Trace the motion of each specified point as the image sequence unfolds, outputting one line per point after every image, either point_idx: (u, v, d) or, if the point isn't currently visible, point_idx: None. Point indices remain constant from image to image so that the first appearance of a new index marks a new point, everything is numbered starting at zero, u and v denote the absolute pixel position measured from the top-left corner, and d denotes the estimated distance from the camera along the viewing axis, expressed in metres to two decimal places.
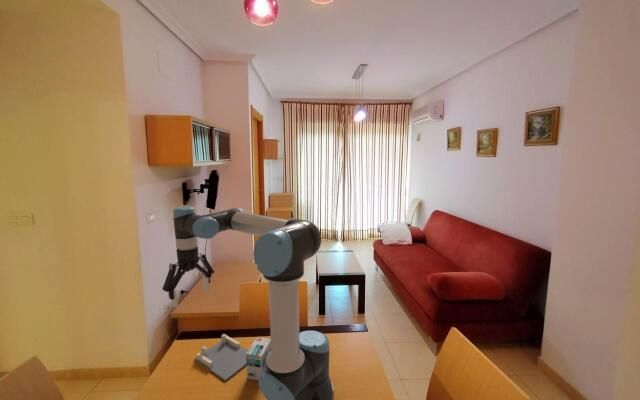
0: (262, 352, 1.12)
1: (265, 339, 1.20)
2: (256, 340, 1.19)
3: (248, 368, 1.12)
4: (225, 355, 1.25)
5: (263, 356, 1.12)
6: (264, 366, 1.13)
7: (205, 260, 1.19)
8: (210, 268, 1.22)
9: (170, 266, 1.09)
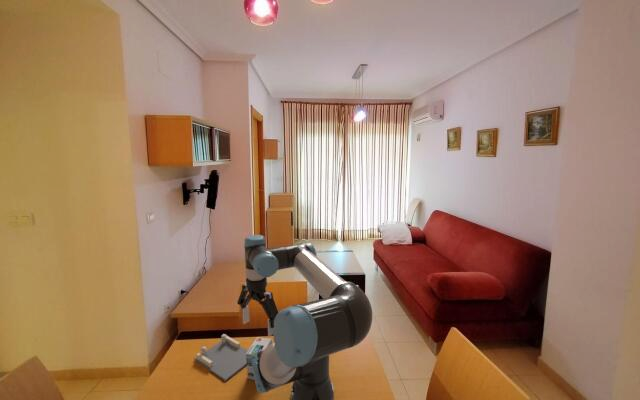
0: None
1: (265, 339, 1.20)
2: (256, 340, 1.19)
3: (248, 368, 1.12)
4: (225, 355, 1.25)
5: None
6: None
7: (267, 301, 1.07)
8: (271, 313, 1.07)
9: None
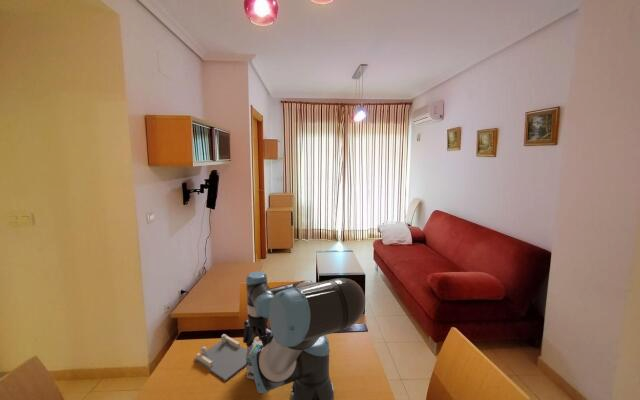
0: None
1: None
2: (256, 340, 1.19)
3: (248, 368, 1.12)
4: (225, 355, 1.25)
5: None
6: None
7: (267, 338, 1.10)
8: None
9: None
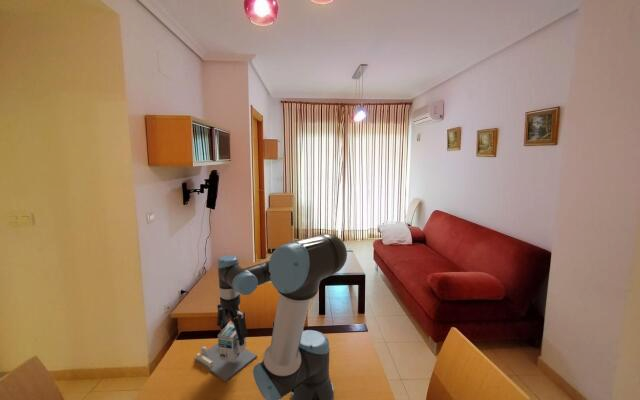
0: (234, 334, 1.15)
1: None
2: (230, 323, 1.22)
3: (220, 349, 1.15)
4: None
5: (234, 338, 1.14)
6: (236, 347, 1.15)
7: (238, 320, 1.13)
8: (241, 332, 1.13)
9: None
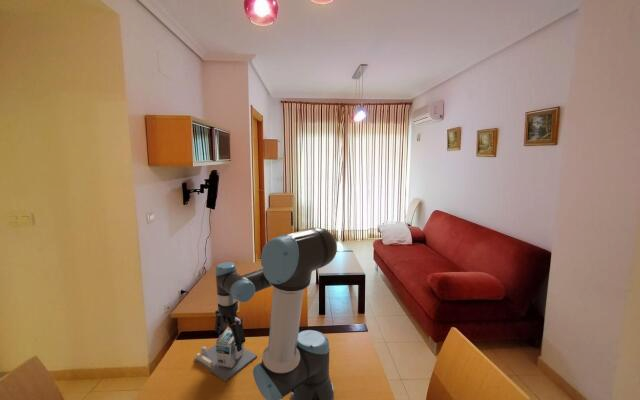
0: (231, 340, 1.16)
1: None
2: (228, 329, 1.23)
3: (218, 355, 1.16)
4: None
5: (232, 344, 1.16)
6: (233, 353, 1.17)
7: (236, 326, 1.14)
8: (238, 338, 1.15)
9: None
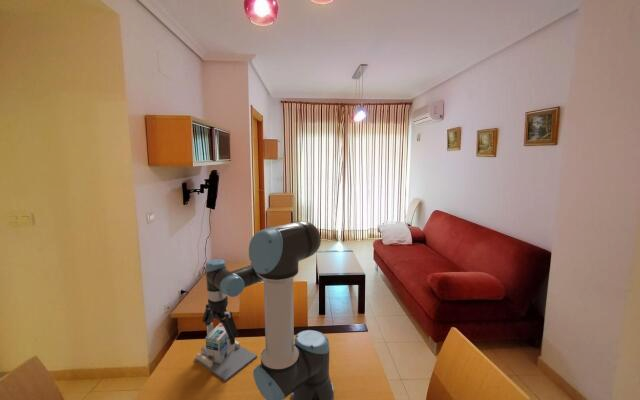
0: (220, 336, 1.20)
1: None
2: (218, 326, 1.27)
3: (207, 351, 1.20)
4: None
5: (221, 340, 1.19)
6: (222, 350, 1.20)
7: (226, 320, 1.17)
8: (230, 331, 1.17)
9: None
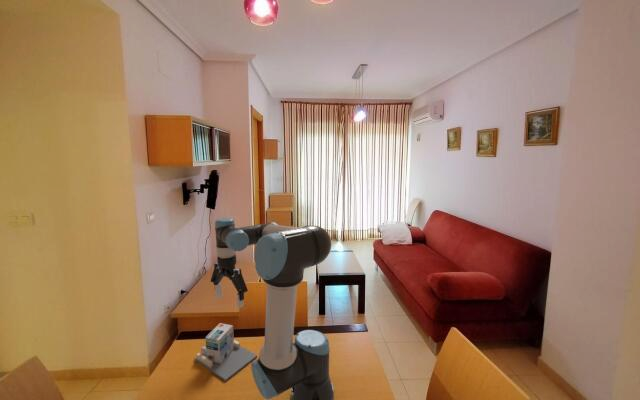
0: (220, 336, 1.20)
1: (227, 325, 1.27)
2: (218, 326, 1.27)
3: (207, 351, 1.20)
4: None
5: (221, 340, 1.19)
6: (222, 350, 1.20)
7: (236, 276, 1.20)
8: (240, 287, 1.20)
9: None
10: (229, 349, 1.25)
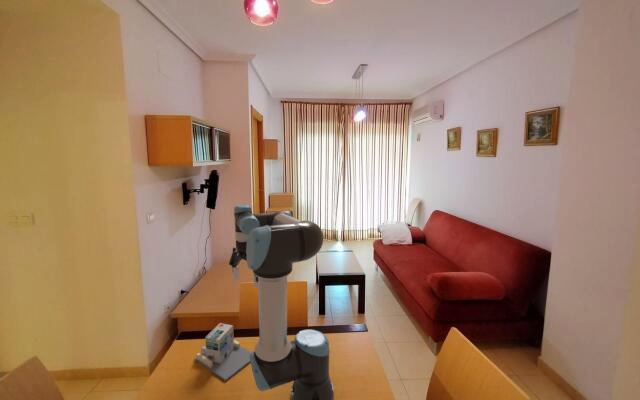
0: (220, 336, 1.20)
1: (227, 325, 1.27)
2: (218, 326, 1.27)
3: (207, 351, 1.20)
4: None
5: (221, 340, 1.19)
6: (222, 350, 1.20)
7: None
8: None
9: None
10: (229, 349, 1.25)
